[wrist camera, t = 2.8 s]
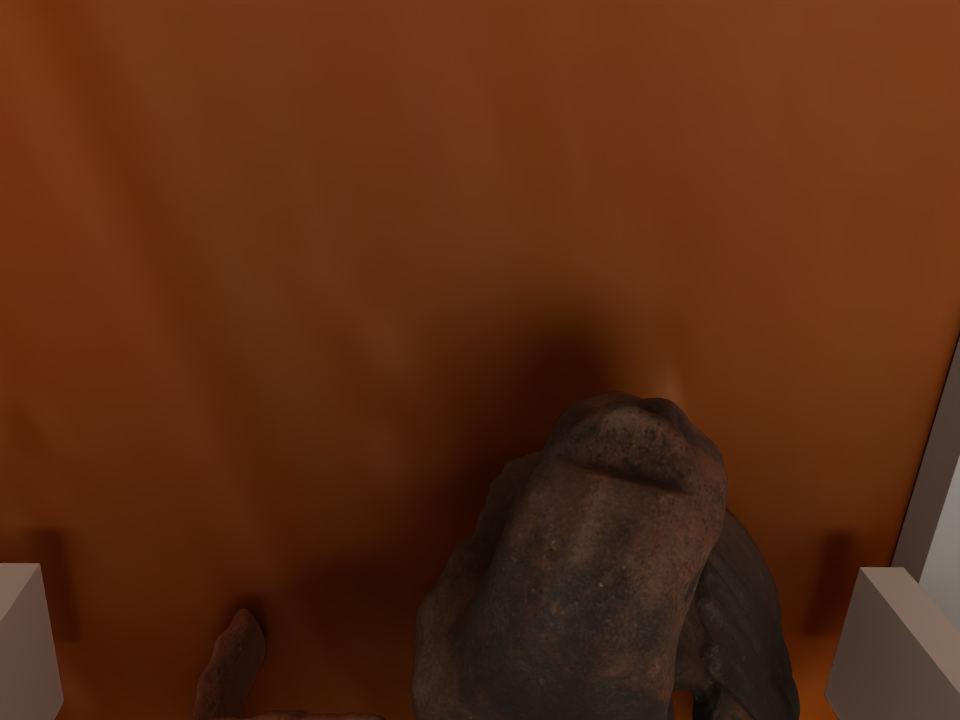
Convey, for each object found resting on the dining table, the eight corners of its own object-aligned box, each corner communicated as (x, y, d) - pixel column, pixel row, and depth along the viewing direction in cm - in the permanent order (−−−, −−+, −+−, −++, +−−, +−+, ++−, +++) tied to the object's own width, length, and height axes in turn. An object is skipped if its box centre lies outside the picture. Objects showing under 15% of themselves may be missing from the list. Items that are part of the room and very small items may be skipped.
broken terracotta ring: (752, 778, 18) (659, 1308, 12) (365, 611, 21) (126, 975, 14) (1004, 319, 11) (1103, 1083, 5) (354, 151, 13) (-139, 492, 7)
